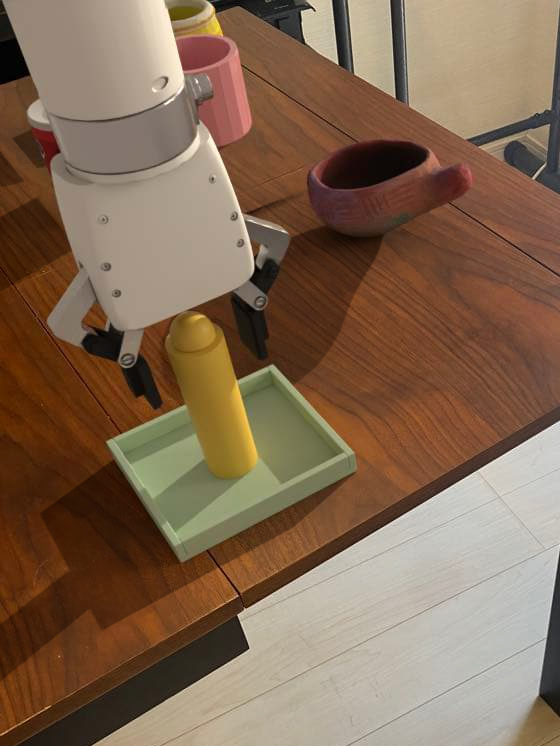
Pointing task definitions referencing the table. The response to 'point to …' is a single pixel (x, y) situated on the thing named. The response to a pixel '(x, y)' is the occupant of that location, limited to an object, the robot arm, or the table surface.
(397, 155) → the bowl
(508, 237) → the table surface
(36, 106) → the canned food
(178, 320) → the bottle
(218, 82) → the pot
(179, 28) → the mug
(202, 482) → the tray
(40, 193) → the table surface
